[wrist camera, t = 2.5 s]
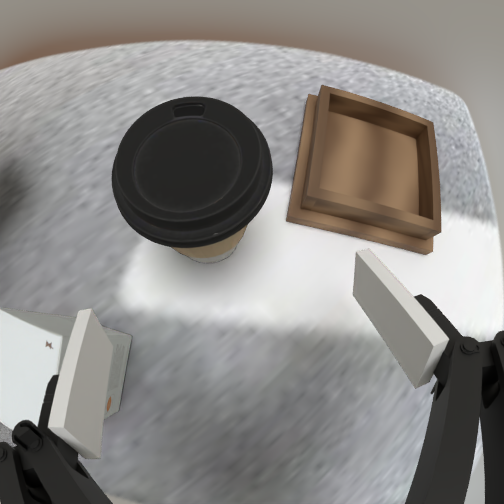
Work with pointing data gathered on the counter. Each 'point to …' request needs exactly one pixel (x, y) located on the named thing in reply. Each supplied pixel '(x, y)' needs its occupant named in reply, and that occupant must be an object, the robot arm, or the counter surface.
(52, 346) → the small box
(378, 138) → the wooden tray
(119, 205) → the coffee cup
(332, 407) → the counter surface
